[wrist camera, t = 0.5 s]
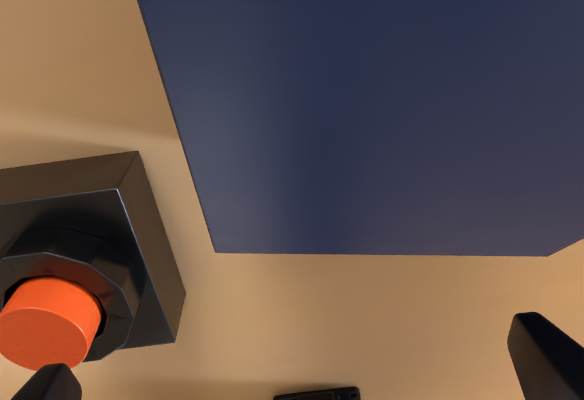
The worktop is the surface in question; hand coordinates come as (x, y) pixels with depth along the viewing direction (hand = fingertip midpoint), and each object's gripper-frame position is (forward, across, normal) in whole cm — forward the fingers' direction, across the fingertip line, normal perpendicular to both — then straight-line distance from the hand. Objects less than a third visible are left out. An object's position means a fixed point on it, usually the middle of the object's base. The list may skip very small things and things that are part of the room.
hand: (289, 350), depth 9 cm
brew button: (+9, +11, +8) cm, 17 cm away
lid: (+4, -4, -2) cm, 6 cm away
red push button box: (+15, +11, +8) cm, 21 cm away
